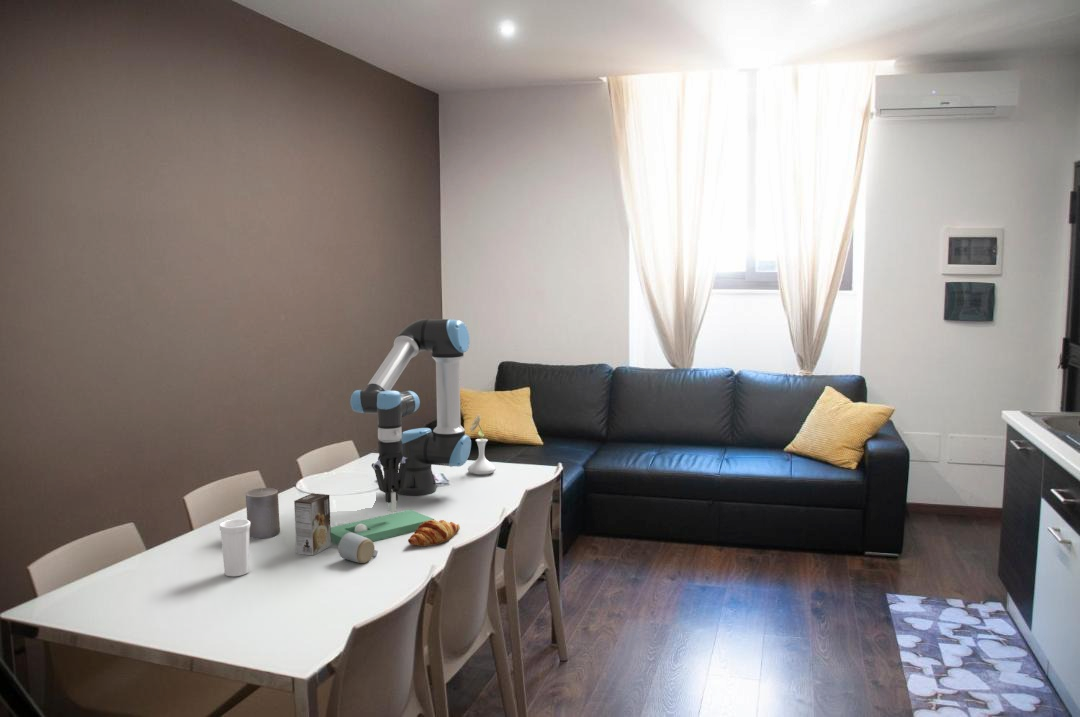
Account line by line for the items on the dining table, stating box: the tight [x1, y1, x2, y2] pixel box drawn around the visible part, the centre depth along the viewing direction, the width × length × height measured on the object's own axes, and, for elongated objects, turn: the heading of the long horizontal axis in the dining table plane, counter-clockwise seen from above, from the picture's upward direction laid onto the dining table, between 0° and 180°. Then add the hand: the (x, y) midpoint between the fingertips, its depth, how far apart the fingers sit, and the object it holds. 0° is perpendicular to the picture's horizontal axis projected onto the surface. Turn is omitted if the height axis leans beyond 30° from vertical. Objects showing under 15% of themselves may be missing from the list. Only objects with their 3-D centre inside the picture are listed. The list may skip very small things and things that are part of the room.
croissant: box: [407, 519, 461, 547], centre depth 264 cm, size 21×10×8 cm, turn 142°
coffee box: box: [293, 492, 332, 556], centre depth 254 cm, size 9×6×16 cm
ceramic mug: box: [337, 532, 379, 564], centre depth 247 cm, size 11×8×8 cm
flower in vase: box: [467, 413, 496, 476], centre depth 345 cm, size 13×11×25 cm
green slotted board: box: [330, 509, 435, 545], centre depth 272 cm, size 32×14×2 cm, turn 132°
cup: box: [218, 518, 251, 577], centre depth 234 cm, size 8×8×14 cm
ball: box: [354, 524, 367, 533], centre depth 267 cm, size 4×4×4 cm
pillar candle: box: [245, 487, 281, 540], centre depth 268 cm, size 10×10×15 cm
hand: (392, 511), depth 275 cm, fingers closed
